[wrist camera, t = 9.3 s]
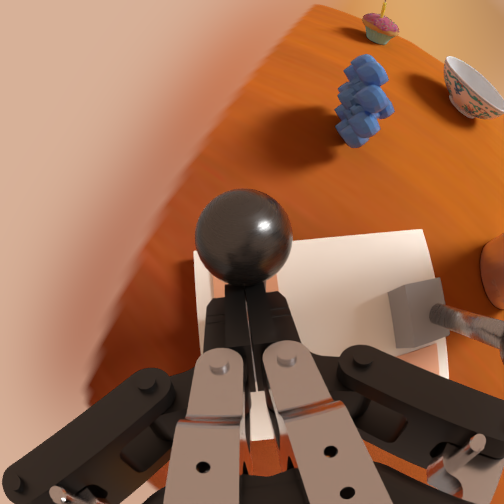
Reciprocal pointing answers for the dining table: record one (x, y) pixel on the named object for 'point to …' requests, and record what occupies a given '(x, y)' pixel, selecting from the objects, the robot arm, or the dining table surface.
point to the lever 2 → (470, 325)
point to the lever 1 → (243, 238)
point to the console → (351, 301)
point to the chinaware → (471, 91)
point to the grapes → (362, 101)
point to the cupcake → (379, 27)
